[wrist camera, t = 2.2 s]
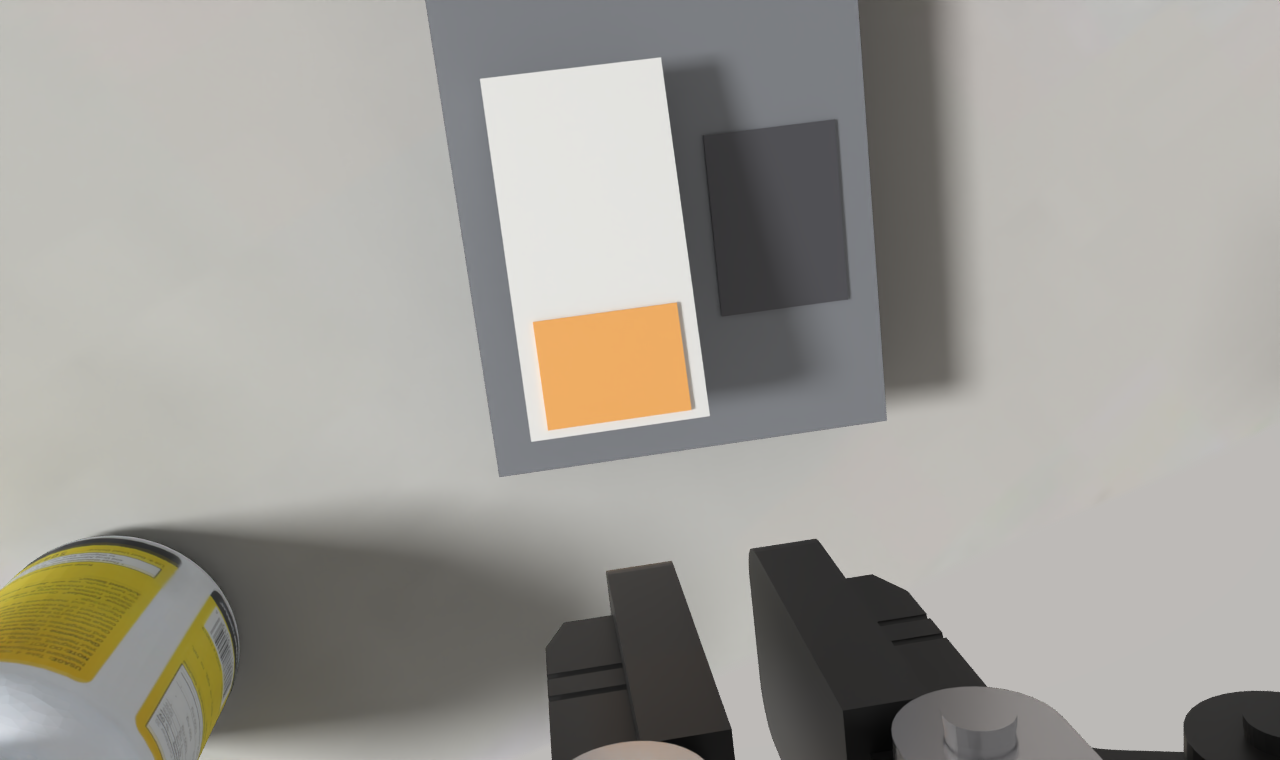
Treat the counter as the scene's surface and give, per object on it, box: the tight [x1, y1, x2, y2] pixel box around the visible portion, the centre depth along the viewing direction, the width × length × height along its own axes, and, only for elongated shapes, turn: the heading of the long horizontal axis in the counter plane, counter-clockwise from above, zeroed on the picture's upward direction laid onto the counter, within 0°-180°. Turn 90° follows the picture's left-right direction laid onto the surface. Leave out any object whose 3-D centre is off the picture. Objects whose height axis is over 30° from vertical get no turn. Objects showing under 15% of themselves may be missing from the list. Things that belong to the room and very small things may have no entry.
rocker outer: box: [480, 57, 710, 442], centre depth 25 cm, size 8×4×1 cm, turn 7°
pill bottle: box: [0, 536, 240, 760], centre depth 26 cm, size 6×6×12 cm
